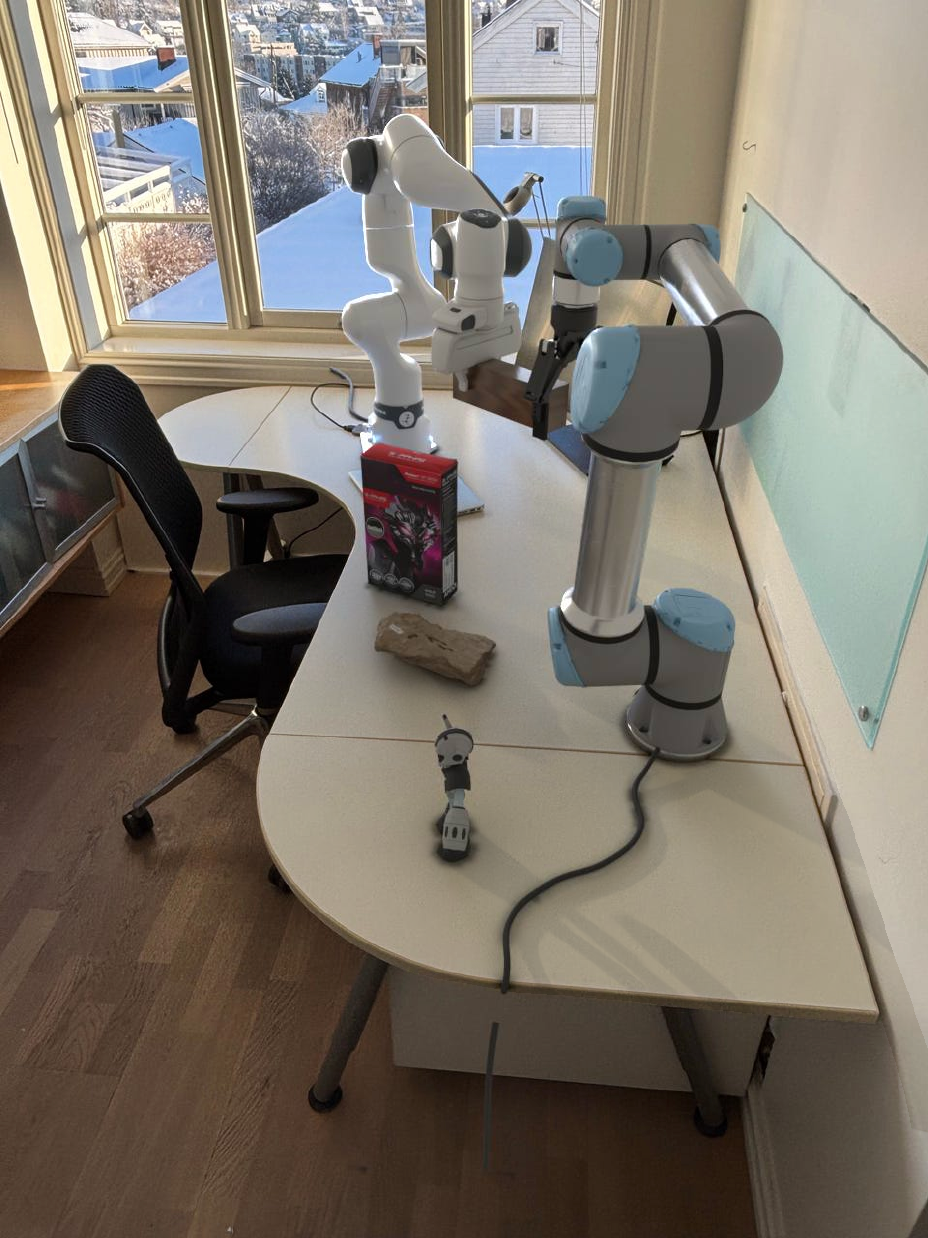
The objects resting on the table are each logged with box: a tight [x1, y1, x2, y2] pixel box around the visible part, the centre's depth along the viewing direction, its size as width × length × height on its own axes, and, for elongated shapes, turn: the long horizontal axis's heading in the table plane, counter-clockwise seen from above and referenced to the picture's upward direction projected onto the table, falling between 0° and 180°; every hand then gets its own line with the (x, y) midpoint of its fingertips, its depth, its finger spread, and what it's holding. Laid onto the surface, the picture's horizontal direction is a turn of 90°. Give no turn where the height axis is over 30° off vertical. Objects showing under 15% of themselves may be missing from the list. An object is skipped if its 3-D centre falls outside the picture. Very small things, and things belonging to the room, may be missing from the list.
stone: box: [373, 611, 497, 686], centre depth 156 cm, size 21×15×6 cm
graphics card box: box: [359, 442, 459, 606], centre depth 169 cm, size 17×7×27 cm, turn 62°
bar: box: [452, 358, 570, 434], centre depth 166 cm, size 24×5×8 cm, turn 45°
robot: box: [433, 713, 475, 862], centre depth 119 cm, size 20×5×20 cm, turn 3°
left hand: (477, 385), depth 171 cm, fingers closed on bar, 5 cm apart
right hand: (565, 427), depth 159 cm, fingers open, 13 cm apart
